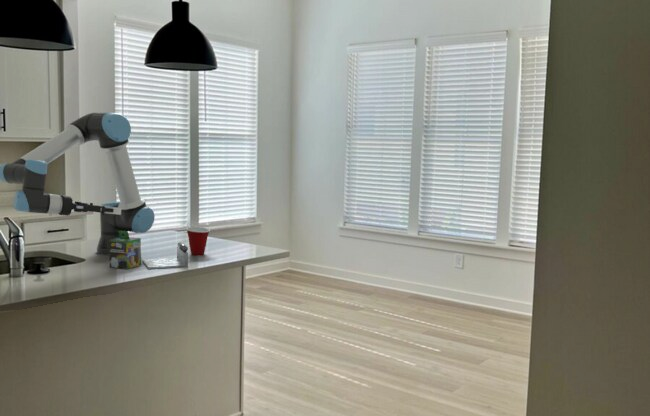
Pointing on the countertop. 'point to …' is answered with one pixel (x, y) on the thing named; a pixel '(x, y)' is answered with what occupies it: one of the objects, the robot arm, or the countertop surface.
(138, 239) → the chalk box
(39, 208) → the robot arm
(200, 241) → the plastic cup
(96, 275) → the countertop surface
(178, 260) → the shaft seat
